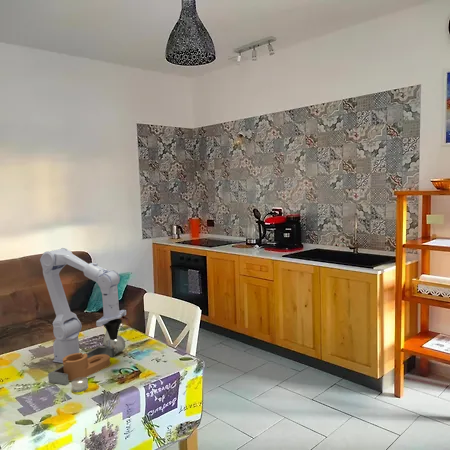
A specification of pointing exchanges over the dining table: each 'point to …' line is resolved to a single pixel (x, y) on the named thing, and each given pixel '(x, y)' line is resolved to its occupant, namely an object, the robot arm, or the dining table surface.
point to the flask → (106, 337)
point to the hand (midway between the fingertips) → (113, 339)
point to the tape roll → (79, 384)
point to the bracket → (84, 364)
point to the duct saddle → (109, 349)
